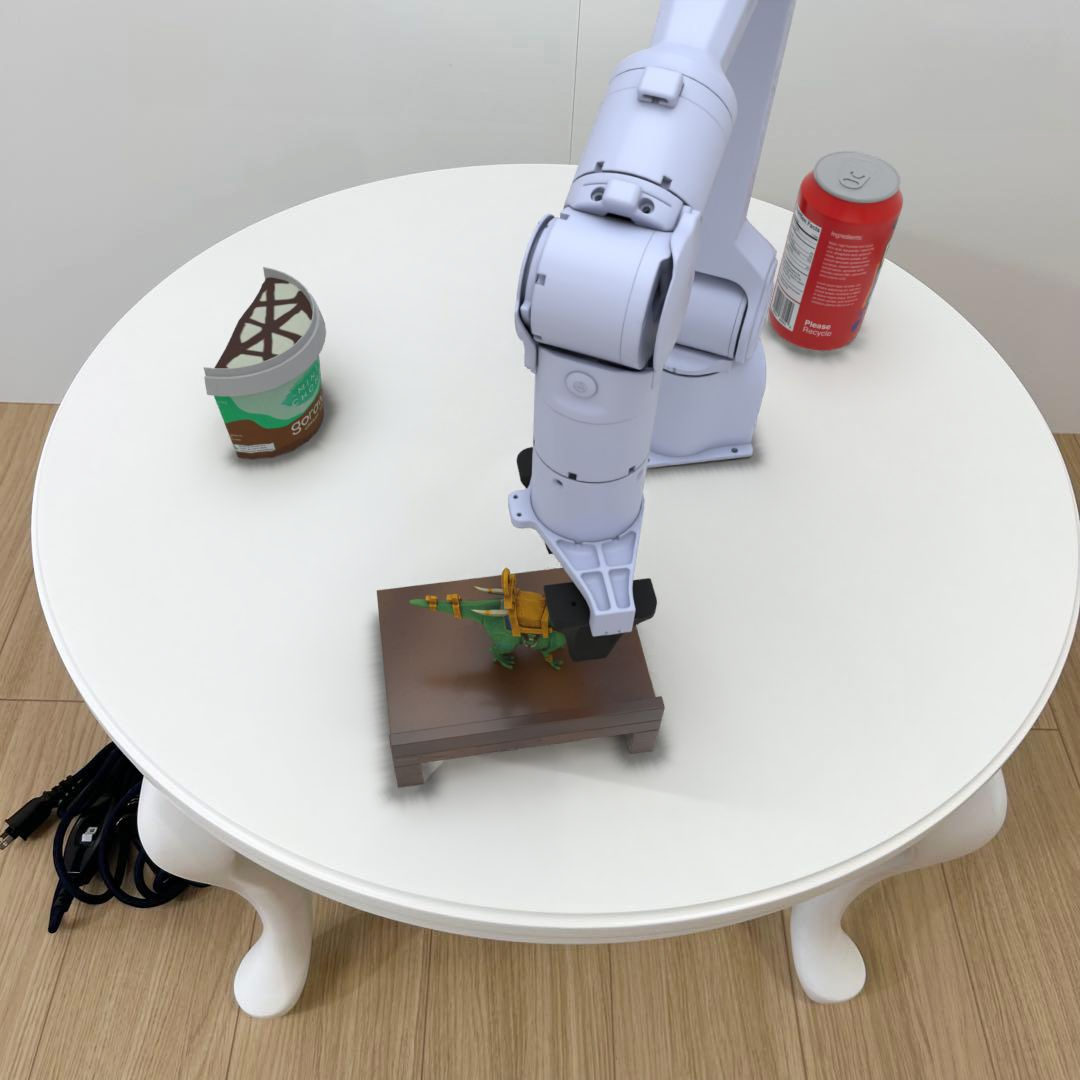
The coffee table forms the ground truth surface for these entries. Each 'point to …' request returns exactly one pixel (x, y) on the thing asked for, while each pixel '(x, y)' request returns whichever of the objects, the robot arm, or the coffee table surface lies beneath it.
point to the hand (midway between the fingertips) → (576, 599)
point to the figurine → (506, 619)
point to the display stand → (500, 683)
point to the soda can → (835, 249)
